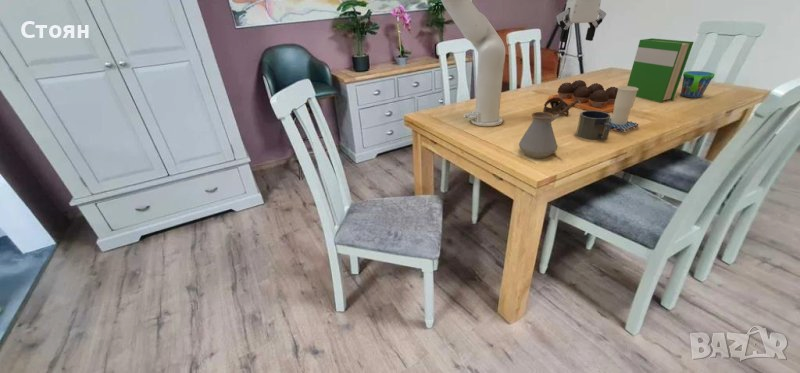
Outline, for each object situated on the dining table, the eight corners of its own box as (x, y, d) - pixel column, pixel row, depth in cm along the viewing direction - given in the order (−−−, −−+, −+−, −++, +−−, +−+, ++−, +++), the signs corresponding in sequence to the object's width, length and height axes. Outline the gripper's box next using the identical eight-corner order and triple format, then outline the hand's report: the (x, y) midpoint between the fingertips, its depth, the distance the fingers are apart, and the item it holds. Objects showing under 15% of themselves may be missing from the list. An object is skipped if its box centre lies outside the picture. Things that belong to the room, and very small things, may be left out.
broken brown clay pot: (573, 118, 136) (568, 103, 131) (549, 128, 139) (544, 113, 134) (564, 103, 144) (560, 88, 139) (542, 112, 148) (537, 98, 143)
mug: (570, 133, 121) (575, 112, 117) (593, 131, 122) (598, 109, 118) (592, 146, 111) (598, 123, 107) (617, 143, 111) (623, 120, 108)
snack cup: (680, 91, 160) (687, 68, 155) (708, 94, 153) (717, 71, 148) (672, 98, 151) (680, 74, 146) (702, 101, 144) (711, 77, 139)
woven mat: (594, 127, 125) (595, 121, 124) (611, 121, 130) (612, 116, 129) (621, 135, 117) (623, 129, 116) (639, 128, 122) (641, 123, 121)
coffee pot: (536, 164, 101) (544, 116, 94) (510, 151, 110) (515, 107, 103) (585, 148, 109) (596, 103, 102) (556, 138, 118) (564, 95, 111)
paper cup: (616, 126, 119) (626, 90, 113) (605, 120, 125) (613, 86, 118) (632, 124, 120) (642, 89, 114) (620, 119, 125) (629, 85, 119)
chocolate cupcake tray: (628, 107, 143) (633, 87, 139) (601, 114, 137) (606, 93, 133) (573, 94, 165) (576, 76, 161) (548, 99, 159) (551, 81, 155)
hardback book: (673, 100, 148) (693, 41, 136) (660, 102, 146) (680, 43, 134) (636, 91, 163) (652, 38, 151) (624, 93, 161) (640, 39, 149)
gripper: (604, -17, 112) (592, 38, 121) (556, -15, 110) (547, 41, 119) (620, -18, 106) (606, 41, 114) (570, -16, 104) (558, 43, 112)
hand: (576, 41), depth 116 cm, fingers open, 9 cm apart
